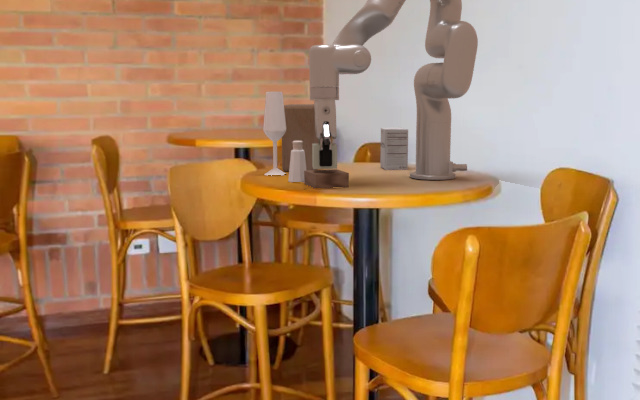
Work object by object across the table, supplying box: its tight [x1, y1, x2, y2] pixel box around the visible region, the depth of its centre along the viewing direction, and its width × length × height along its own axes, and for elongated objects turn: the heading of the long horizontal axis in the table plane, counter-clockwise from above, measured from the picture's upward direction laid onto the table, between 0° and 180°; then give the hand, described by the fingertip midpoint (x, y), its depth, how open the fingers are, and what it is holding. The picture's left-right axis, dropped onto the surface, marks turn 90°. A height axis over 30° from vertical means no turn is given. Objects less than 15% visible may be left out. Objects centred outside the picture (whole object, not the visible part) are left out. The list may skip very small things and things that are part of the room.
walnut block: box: [303, 168, 350, 189], centre depth 185 cm, size 9×9×4 cm
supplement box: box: [379, 126, 409, 171], centre depth 221 cm, size 7×7×13 cm
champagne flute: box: [262, 91, 287, 177], centre depth 207 cm, size 7×7×24 cm
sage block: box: [312, 142, 338, 170], centre depth 184 cm, size 6×6×6 cm
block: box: [281, 103, 318, 172], centre depth 218 cm, size 10×10×20 cm
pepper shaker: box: [288, 141, 306, 183], centre depth 193 cm, size 5×5×11 cm
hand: (324, 164), depth 184 cm, fingers closed on sage block, 6 cm apart
